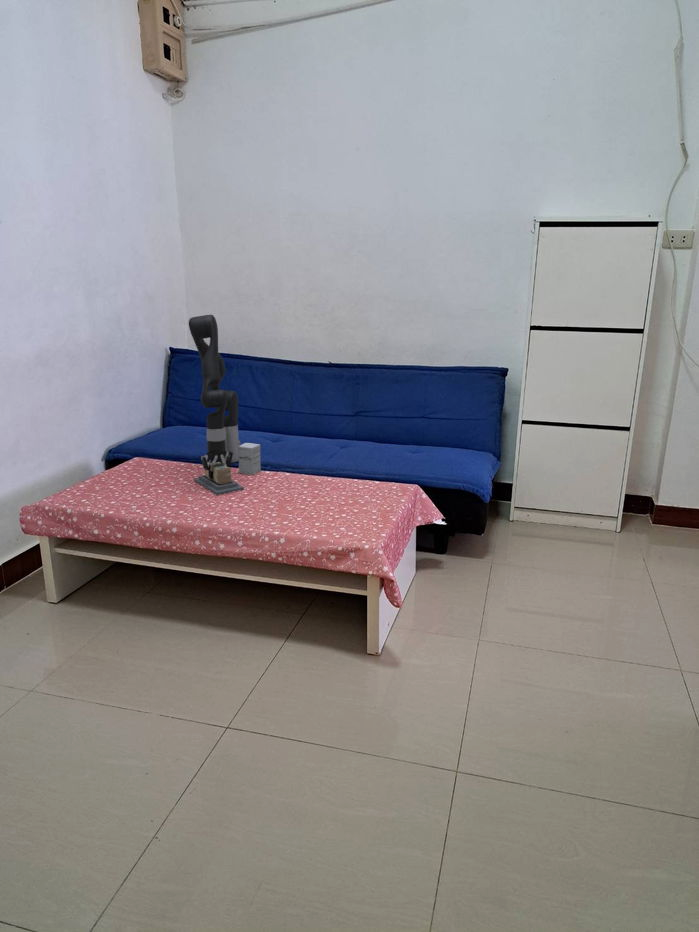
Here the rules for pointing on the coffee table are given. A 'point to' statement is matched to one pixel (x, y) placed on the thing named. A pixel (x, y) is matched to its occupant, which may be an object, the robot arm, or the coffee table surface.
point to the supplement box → (249, 458)
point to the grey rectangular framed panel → (217, 485)
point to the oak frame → (220, 473)
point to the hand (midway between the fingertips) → (217, 477)
